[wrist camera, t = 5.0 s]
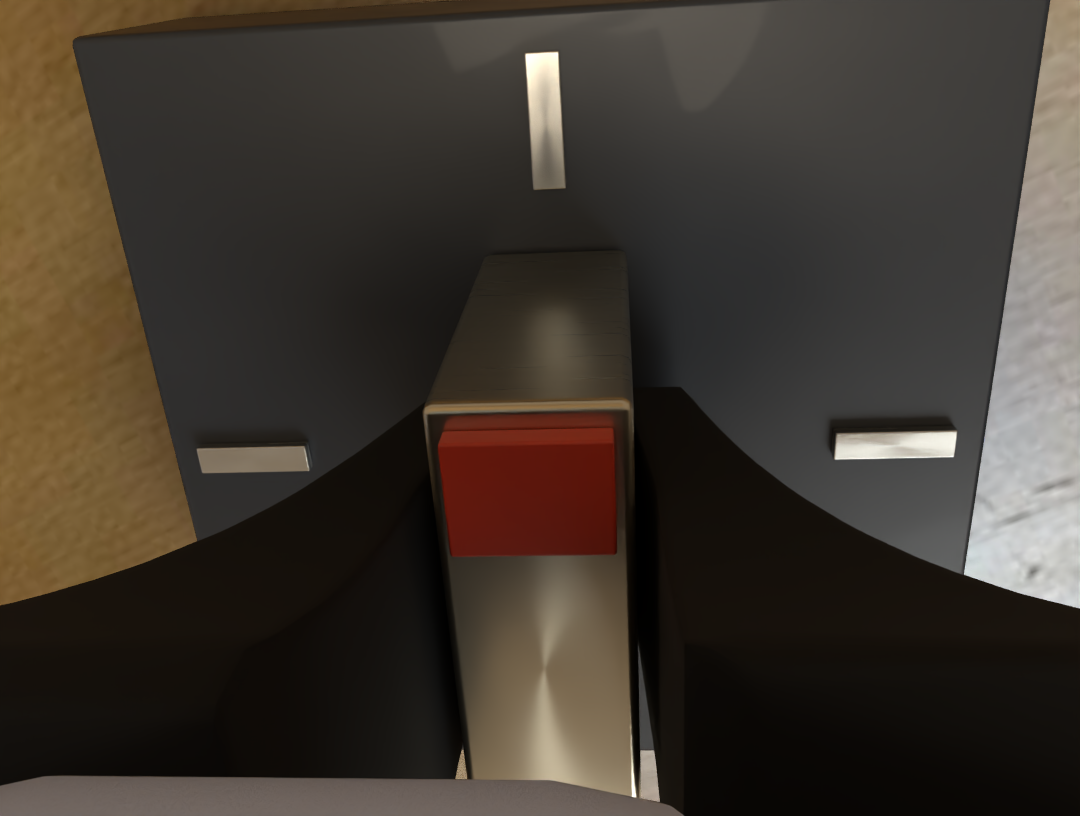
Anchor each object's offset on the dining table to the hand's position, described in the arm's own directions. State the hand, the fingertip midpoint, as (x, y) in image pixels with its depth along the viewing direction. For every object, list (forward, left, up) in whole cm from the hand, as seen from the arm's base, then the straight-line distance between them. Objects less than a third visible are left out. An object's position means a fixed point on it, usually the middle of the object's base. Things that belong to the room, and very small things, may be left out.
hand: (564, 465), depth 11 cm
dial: (0, 0, 0) cm, 0 cm away
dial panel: (0, 0, -3) cm, 3 cm away
